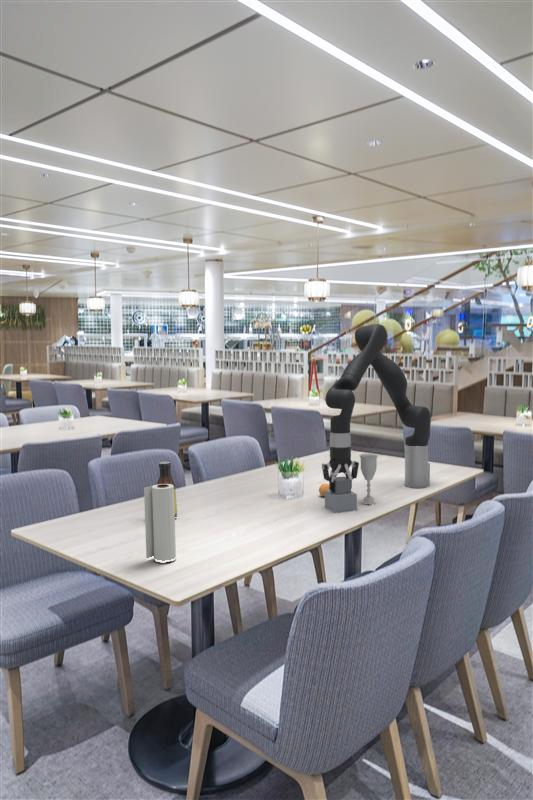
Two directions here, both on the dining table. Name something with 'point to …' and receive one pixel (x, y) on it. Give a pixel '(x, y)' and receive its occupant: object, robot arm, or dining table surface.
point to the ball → (323, 489)
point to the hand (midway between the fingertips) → (340, 490)
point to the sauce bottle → (167, 479)
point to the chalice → (368, 473)
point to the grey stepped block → (341, 496)
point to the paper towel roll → (160, 521)
